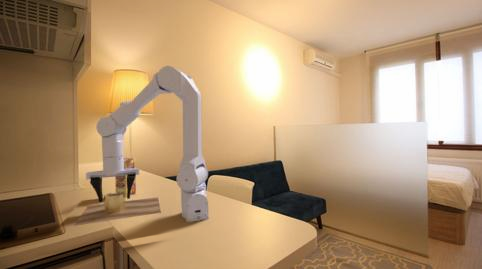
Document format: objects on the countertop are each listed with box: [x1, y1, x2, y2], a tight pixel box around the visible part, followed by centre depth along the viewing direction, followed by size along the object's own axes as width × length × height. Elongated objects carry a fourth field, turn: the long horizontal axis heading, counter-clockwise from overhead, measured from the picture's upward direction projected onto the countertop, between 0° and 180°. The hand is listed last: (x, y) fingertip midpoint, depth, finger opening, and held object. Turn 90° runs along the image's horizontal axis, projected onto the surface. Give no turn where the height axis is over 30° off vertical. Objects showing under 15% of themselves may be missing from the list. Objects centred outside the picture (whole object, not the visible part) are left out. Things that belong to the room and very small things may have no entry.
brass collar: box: [103, 192, 126, 213], centre depth 74 cm, size 5×6×5 cm
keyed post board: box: [74, 192, 162, 227], centre depth 75 cm, size 17×22×6 cm
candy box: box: [114, 157, 137, 199], centre depth 92 cm, size 9×4×15 cm, turn 2°
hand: (115, 199), depth 75 cm, fingers open, 7 cm apart
